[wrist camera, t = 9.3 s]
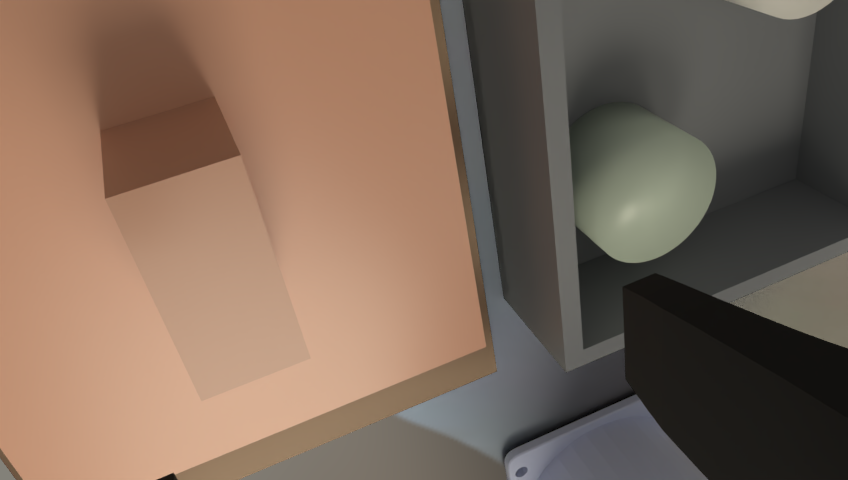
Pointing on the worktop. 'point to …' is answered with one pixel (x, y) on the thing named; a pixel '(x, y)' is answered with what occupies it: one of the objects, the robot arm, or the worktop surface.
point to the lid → (218, 224)
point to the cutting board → (226, 470)
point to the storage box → (657, 151)
